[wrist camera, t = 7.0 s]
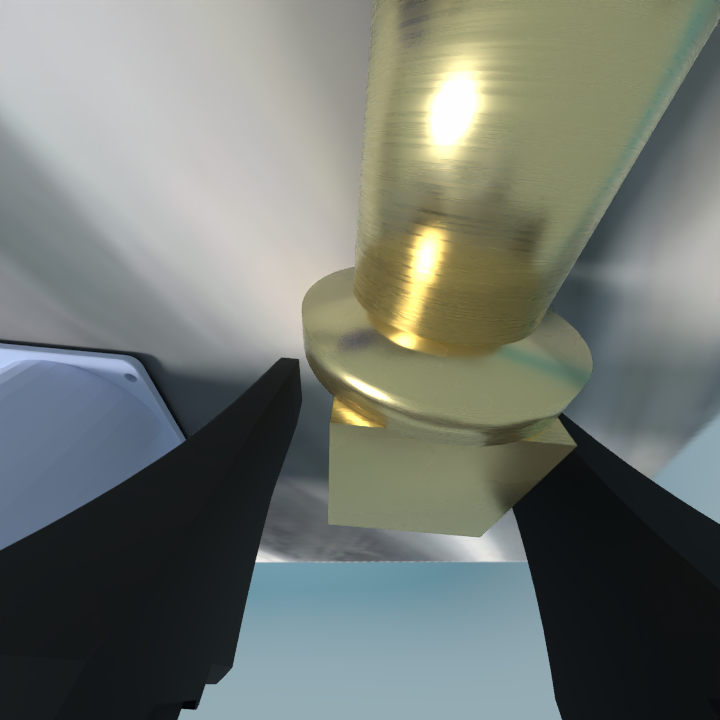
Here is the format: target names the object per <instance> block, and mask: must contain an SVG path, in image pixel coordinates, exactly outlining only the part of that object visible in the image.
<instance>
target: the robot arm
mask: <svg viewBox="0 0 720 720" xmlns="http://www.w3.org/2000/svg"><path fill="white" fill-rule="evenodd" d="M301 403H302V392H301V380H300V368H299V359H291V358H280V359H279V360H278V361H277V362H276V363H275V364H274V365H273V366H272V367H271V368H270V369H269V370H268V371H267V372H266V373H265V374H264V375H263V376H261V377H260V378H259V379H258V380H257V381H256V382H255V383H254V384H253V385H252V386H251V387H250V388H249V389H248V390H247V391H245V392H244V393H243V394H242V395H241V396H240V397H239V398H238V399H237V400H236V401H234V402H233V403H232V404H231V405H230V406H228V407H227V408H226V409H225V410H224V411H222V412H221V413H220V414H219V415H218V416H216V417H215V418H214V419H213V420H212V421H210V422H209V423H208V424H207V425H205V426H204V427H203V428H201V429H200V430H199V431H198V432H196V433H195V434H194V435H192V436H191V437H189V438H188V439H187V440H186V439H185V437H184V436H183V434H182V432H181V431H180V429H179V427H178V425H177V424H176V422H175V420H174V418H173V417H172V415H171V413H170V412H169V410H168V408H167V406H166V405H165V403H164V401H163V399H162V398H161V396H160V394H159V392H158V391H157V389H156V387H155V386H154V384H153V382H152V380H151V379H150V377H149V375H148V373H147V372H146V370H145V368H144V366H143V365H142V363H141V362H140V361H139V360H137V359H136V358H134V357H132V356H127V355H118V354H107V353H96V352H86V351H75V350H65V349H54V348H44V347H33V346H23V345H12V344H2V343H0V720H177V719H178V717H179V714H180V711H181V709H192V710H196V709H197V707H198V705H199V702H200V699H201V696H202V693H203V690H204V686H205V684H217V683H218V682H219V681H220V680H221V679H222V678H223V677H224V676H225V675H226V674H227V673H228V672H229V671H230V669H231V668H232V667H233V662H234V657H235V652H236V647H237V642H238V638H239V632H240V628H241V623H242V618H243V613H244V609H245V605H246V600H247V595H248V591H249V587H250V583H251V578H252V573H253V569H254V565H255V561H256V557H257V553H258V548H259V544H260V540H261V536H262V532H263V528H264V524H265V520H266V516H267V512H268V508H269V505H270V501H271V497H272V494H273V491H274V488H275V485H276V482H277V479H278V476H279V473H280V470H281V468H282V465H283V462H284V459H285V456H286V454H287V451H288V448H289V445H290V442H291V439H292V437H293V434H294V431H295V428H296V425H297V421H298V416H299V412H300V407H301ZM558 419H559V420H560V422H561V423H562V425H563V426H564V428H565V429H566V430H567V432H568V433H569V435H570V436H571V438H572V439H573V440H574V442H575V443H576V445H577V446H576V447H575V448H574V449H573V450H572V451H571V452H570V453H569V454H568V455H567V456H566V457H565V458H564V459H563V460H562V461H561V462H559V463H558V464H557V465H556V466H555V467H554V468H553V469H552V470H551V471H550V472H549V473H548V474H547V475H546V476H545V477H544V478H542V479H541V480H540V481H539V482H538V483H537V484H536V485H535V486H534V487H533V488H532V489H531V490H530V491H529V492H528V493H527V494H525V495H524V496H523V497H522V498H521V499H520V500H519V501H518V502H517V503H516V504H515V505H514V506H513V507H512V509H513V512H514V514H515V517H516V520H517V524H518V527H519V531H520V534H521V538H522V541H523V545H524V549H525V552H526V556H527V560H528V564H529V568H530V572H531V576H532V580H533V584H534V588H535V592H536V597H537V602H538V606H539V611H540V616H541V620H542V625H543V629H544V635H545V641H546V646H547V652H548V657H549V663H550V669H551V674H552V681H553V687H554V693H555V700H556V703H557V706H558V708H559V712H560V715H561V718H562V720H720V524H718V523H717V522H715V521H714V520H712V519H710V518H709V517H707V516H705V515H704V514H702V513H701V512H699V511H697V510H696V509H694V508H693V507H691V506H689V505H688V504H686V503H685V502H683V501H682V500H680V499H678V498H677V497H675V496H674V495H672V494H671V493H670V492H668V491H666V490H665V489H664V488H662V487H661V486H659V485H658V484H656V483H655V482H653V481H652V480H650V479H649V478H647V477H646V476H644V475H643V474H641V473H640V472H639V471H637V470H636V469H634V468H633V467H632V466H630V465H629V464H627V463H626V462H625V461H623V460H622V459H621V458H619V457H618V456H617V455H615V454H614V453H613V452H611V451H610V450H609V449H607V448H606V447H605V446H603V445H602V444H601V443H599V442H598V441H597V440H595V439H594V438H593V437H592V436H590V435H589V434H588V433H586V432H585V431H584V430H583V429H581V428H580V427H579V426H578V425H576V424H575V423H574V422H573V421H571V420H570V419H569V418H568V417H567V416H565V415H564V414H563V413H561V414H560V415H559V416H558Z"/></svg>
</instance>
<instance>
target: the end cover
mask: <svg viewBox="0 0 720 720" xmlns="http://www.w3.org/2000/svg"><path fill="white" fill-rule="evenodd" d="M719 20H720V0H373V7H372V21H371V36H370V50H369V65H368V79H367V94H366V108H365V123H364V137H363V152H362V166H361V181H360V195H359V210H358V224H357V239H356V253H355V267H352V268H348V269H344V270H340V271H337V272H335V273H332V274H330V275H328V276H326V277H324V278H322V279H321V280H319V281H318V282H316V283H315V284H314V285H313V286H312V287H311V288H310V289H309V290H308V292H307V293H306V295H305V297H304V300H303V302H302V323H303V338H304V349H305V354H306V358H307V360H308V363H309V365H310V367H311V369H312V371H313V372H314V374H315V375H316V377H317V378H318V380H319V381H320V382H321V383H322V384H323V385H324V387H325V388H326V389H327V390H328V391H329V392H330V393H331V394H332V395H333V396H334V401H333V407H332V413H331V419H330V440H329V508H328V524H333V525H344V526H355V527H367V528H378V529H390V530H401V531H412V532H424V533H435V534H447V535H458V536H469V537H481V536H482V535H483V534H484V533H485V532H486V531H487V530H488V529H489V528H490V527H491V526H493V525H494V524H495V523H496V522H497V521H498V520H499V519H500V518H501V517H502V516H503V515H504V514H505V513H506V512H507V511H508V510H510V509H511V508H512V507H513V506H514V505H515V504H516V503H517V502H518V501H519V500H520V499H521V498H522V497H523V496H524V495H525V494H527V493H528V492H529V491H530V490H531V489H532V488H533V487H534V486H535V485H536V484H537V483H538V482H539V481H540V480H541V479H542V478H544V477H545V476H546V475H547V474H548V473H549V472H550V471H551V470H552V469H553V468H554V467H555V466H556V465H557V464H558V463H559V462H561V461H562V460H563V459H564V458H565V457H566V456H567V455H568V454H569V453H570V452H571V451H572V450H573V449H574V448H575V447H576V446H577V445H576V443H575V442H574V440H573V439H572V438H571V436H570V435H569V433H568V432H567V430H566V429H565V428H564V426H563V425H562V423H561V422H560V420H559V419H558V416H559V415H560V414H561V413H562V412H563V411H564V409H565V408H566V407H567V406H568V405H569V404H570V403H571V401H572V400H573V399H574V398H575V397H576V396H577V395H578V393H579V392H580V391H581V390H582V389H583V388H584V386H585V385H586V384H587V383H588V381H589V380H590V377H591V374H592V371H593V359H592V356H591V353H590V349H589V348H588V346H587V344H586V342H585V341H584V339H583V338H582V337H581V335H580V334H579V333H578V332H577V331H576V329H574V328H573V327H572V326H571V325H570V324H569V323H568V322H567V321H566V320H565V319H563V318H562V317H561V316H560V315H558V314H557V313H556V312H554V311H553V310H551V309H550V308H549V306H550V304H551V303H552V301H553V299H554V298H555V296H556V294H557V292H558V291H559V289H560V287H561V286H562V284H563V282H564V281H565V279H566V277H567V276H568V274H569V272H570V271H571V269H572V267H573V266H574V264H575V262H576V261H577V259H578V257H579V255H580V254H581V252H582V250H583V249H584V247H585V245H586V244H587V242H588V240H589V239H590V237H591V235H592V234H593V232H594V230H595V229H596V227H597V225H598V223H599V222H600V220H601V218H602V217H603V215H604V213H605V212H606V210H607V208H608V207H609V205H610V203H611V202H612V200H613V198H614V197H615V195H616V193H617V191H618V190H619V188H620V186H621V185H622V183H623V181H624V180H625V178H626V176H627V175H628V173H629V171H630V170H631V168H632V166H633V165H634V163H635V161H636V160H637V158H638V156H639V154H640V153H641V151H642V149H643V148H644V146H645V144H646V143H647V141H648V139H649V138H650V136H651V134H652V133H653V131H654V129H655V128H656V126H657V124H658V122H659V121H660V119H661V117H662V116H663V114H664V112H665V111H666V109H667V107H668V106H669V104H670V102H671V101H672V99H673V97H674V96H675V94H676V92H677V91H678V89H679V87H680V85H681V84H682V82H683V80H684V79H685V77H686V75H687V74H688V72H689V70H690V69H691V67H692V65H693V64H694V62H695V60H696V59H697V57H698V55H699V53H700V52H701V50H702V48H703V47H704V45H705V43H706V42H707V40H708V38H709V37H710V35H711V33H712V32H713V30H714V28H715V27H716V25H717V23H718V21H719Z"/></svg>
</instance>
